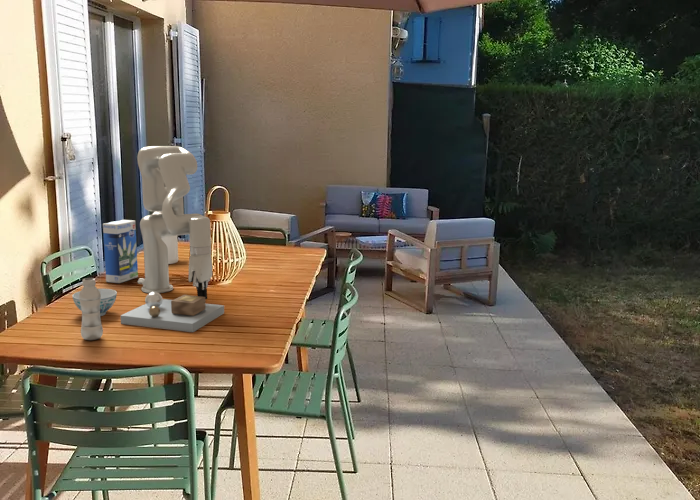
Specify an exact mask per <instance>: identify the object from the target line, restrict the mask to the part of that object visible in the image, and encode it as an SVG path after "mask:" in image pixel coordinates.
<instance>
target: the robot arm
mask: <svg viewBox="0 0 700 500" xmlns="http://www.w3.org/2000/svg"><path fill="white" fill-rule="evenodd" d="M136 159H137V165H138V169H139V172H140V175H141V185H142V188H141V189H142V205H143V207H144V209H145V210H146V211H148V212H155V211H162V214H154V215H152V214H149V215H144V216H143V217H142V218H141V219H140V222H139V228H140V233H141V238H142V246H143V263H144V264H143V265H144V278H143V277H142V278H141V277H140V278H138V280H137V284H140V285H142V286H141V291H142V292H143V293H146V294H149V293H151V292H157V293H159V294H162V293H167V292H170V291H173V289H174V286H173V285H172V284H170V277H169V275H170V274H169V273H170V272H169V264H168V248H167V246H166V244H165V243H164V242H163V241H162V239H161V238H162V237H167V236H177V237H178V236H184V235H188V236H189V260H188V283H192V287H195V288H196V296H201V297H205V301H206V300H208V287H209V286H208V285H209V282H210V281H211V278H213V261H212V237H211V220H210V218H209V217H208V216H204V215H202V214H200V213H197V212H196V213H184V212H185V211H184V196H186V195H187V194H189V192H190V191H191V186H190V185H191V184H190V183H189V180H188V177H187V175H188V176H189V175H191V176H192V175H194V174H196V173H197V171H198V162H197V159H196V157H195V156H194V154H193V153H192V152H190V151H189V150H186V149H185V148H183V147H181V146H178V145H151V146H144V147H142V148H140V149H139V150H138V153H137V158H136Z"/></svg>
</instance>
